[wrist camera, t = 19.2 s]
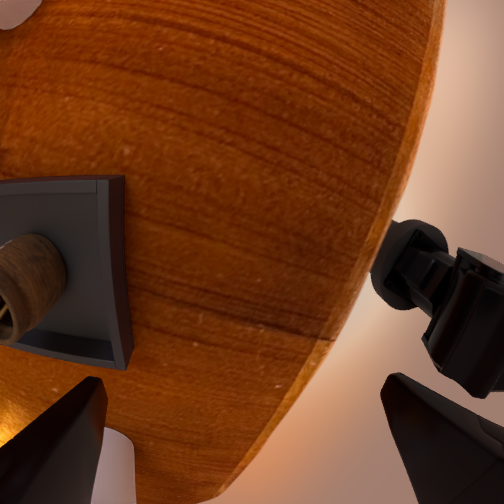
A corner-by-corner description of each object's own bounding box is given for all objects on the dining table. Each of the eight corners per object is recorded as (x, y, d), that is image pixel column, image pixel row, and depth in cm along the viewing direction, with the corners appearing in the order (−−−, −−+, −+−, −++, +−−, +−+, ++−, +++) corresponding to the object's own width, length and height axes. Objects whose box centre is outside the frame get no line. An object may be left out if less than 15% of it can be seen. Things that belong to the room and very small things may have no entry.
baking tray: (124, 174, 17) (109, 179, 14) (134, 347, 22) (126, 371, 19) (-28, 183, 15) (-49, 189, 12) (-3, 322, 19) (-18, 338, 16)
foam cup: (136, 465, 28) (128, 545, 16) (71, 440, 26) (50, 518, 13) (155, 437, 26) (147, 537, 14) (77, 406, 23) (46, 503, 11)
